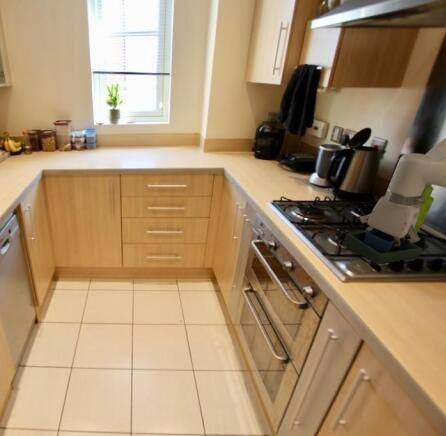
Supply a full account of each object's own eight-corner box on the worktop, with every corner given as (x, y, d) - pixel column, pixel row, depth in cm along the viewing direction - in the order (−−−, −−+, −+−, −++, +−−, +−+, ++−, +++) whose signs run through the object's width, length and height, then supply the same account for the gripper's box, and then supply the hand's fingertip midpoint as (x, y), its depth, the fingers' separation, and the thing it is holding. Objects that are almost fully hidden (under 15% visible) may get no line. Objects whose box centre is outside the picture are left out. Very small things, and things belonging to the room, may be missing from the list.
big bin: (379, 240, 106) (384, 228, 104) (416, 261, 95) (422, 249, 93) (341, 245, 104) (346, 233, 102) (375, 267, 93) (380, 255, 91)
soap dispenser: (399, 223, 115) (422, 172, 106) (421, 232, 110) (448, 178, 100) (388, 227, 113) (411, 174, 104) (410, 236, 108) (437, 181, 98)
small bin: (372, 243, 103) (379, 228, 100) (395, 254, 98) (403, 237, 95) (360, 249, 101) (366, 233, 98) (382, 260, 96) (390, 243, 93)
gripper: (446, 206, 85) (417, 260, 93) (376, 184, 99) (357, 233, 107) (431, 212, 82) (403, 267, 91) (362, 189, 96) (343, 239, 105)
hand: (378, 248), depth 99 cm, fingers closed on small bin, 6 cm apart
